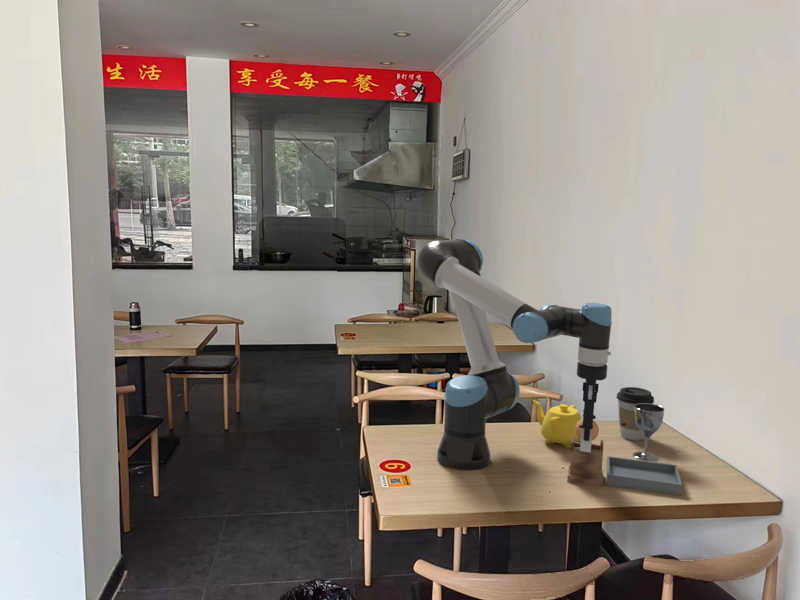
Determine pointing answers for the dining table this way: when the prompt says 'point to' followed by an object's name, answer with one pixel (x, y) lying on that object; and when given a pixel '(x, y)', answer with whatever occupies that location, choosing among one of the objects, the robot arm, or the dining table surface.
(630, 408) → the coffee cup
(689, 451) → the dining table surface
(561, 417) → the teapot
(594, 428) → the ball
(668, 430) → the dining table surface
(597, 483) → the stand
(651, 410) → the silver goblet
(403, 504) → the dining table surface
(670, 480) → the tray
